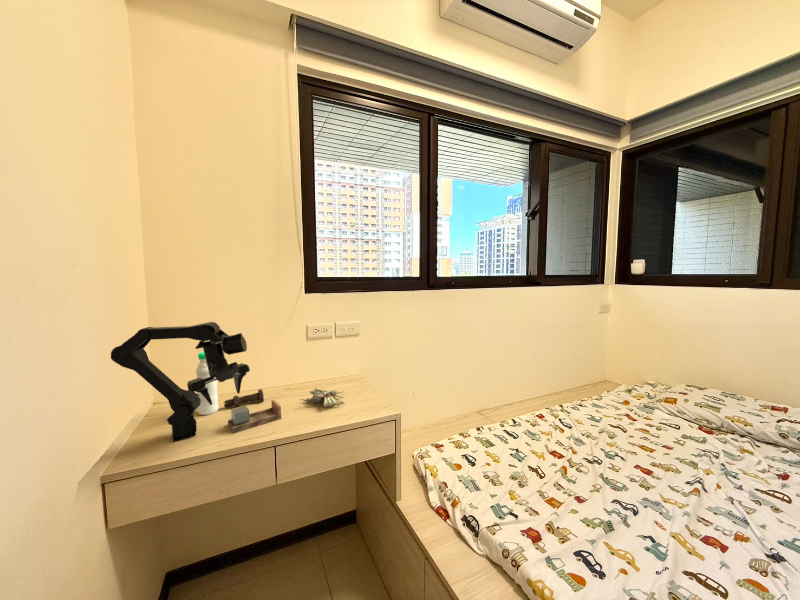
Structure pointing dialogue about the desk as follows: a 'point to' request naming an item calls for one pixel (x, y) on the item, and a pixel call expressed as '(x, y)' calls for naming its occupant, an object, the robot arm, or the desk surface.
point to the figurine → (324, 398)
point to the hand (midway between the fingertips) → (225, 398)
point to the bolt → (244, 399)
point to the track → (259, 418)
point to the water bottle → (212, 387)
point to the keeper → (240, 415)
